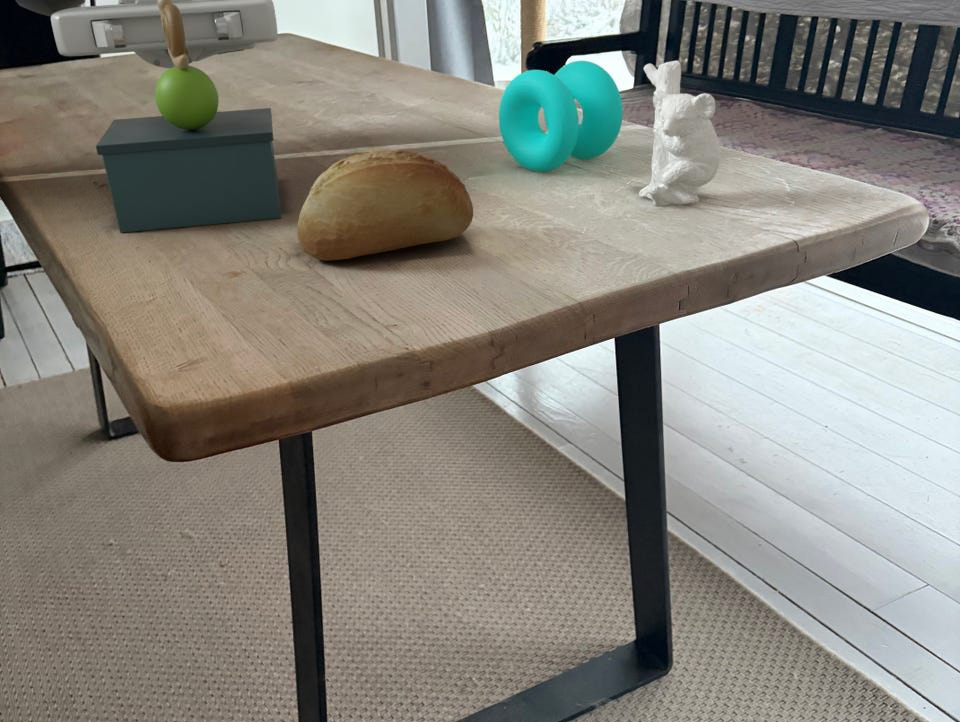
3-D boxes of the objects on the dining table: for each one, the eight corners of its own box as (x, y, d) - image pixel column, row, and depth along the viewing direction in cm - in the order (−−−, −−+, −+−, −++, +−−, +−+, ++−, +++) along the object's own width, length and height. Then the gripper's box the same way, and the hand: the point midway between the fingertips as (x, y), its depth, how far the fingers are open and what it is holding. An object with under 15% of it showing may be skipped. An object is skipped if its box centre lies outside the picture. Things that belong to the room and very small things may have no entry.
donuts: (626, 162, 102) (630, 62, 97) (564, 181, 96) (565, 76, 91) (556, 149, 108) (556, 55, 103) (494, 166, 102) (491, 67, 97)
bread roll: (496, 251, 78) (494, 151, 74) (319, 282, 73) (305, 177, 69) (452, 221, 86) (448, 129, 82) (289, 247, 81) (275, 151, 77)
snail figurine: (214, 118, 90) (190, -22, 84) (228, 130, 85) (204, -18, 79) (156, 125, 89) (127, -18, 83) (166, 138, 83) (137, -14, 77)
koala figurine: (615, 196, 90) (620, 61, 84) (673, 185, 93) (681, 54, 87) (670, 218, 84) (679, 73, 78) (730, 206, 86) (744, 65, 80)
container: (116, 234, 86) (95, 145, 82) (131, 199, 96) (113, 119, 92) (284, 219, 88) (272, 132, 84) (281, 186, 98) (270, 107, 94)
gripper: (46, -9, 92) (36, 2, 80) (260, -22, 97) (279, -13, 86) (63, 61, 95) (55, 81, 83) (269, 45, 100) (289, 62, 89)
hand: (171, 33), depth 85 cm, fingers open, 8 cm apart
